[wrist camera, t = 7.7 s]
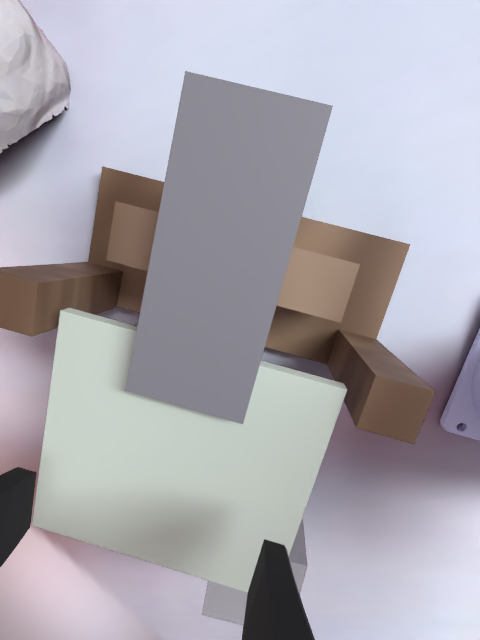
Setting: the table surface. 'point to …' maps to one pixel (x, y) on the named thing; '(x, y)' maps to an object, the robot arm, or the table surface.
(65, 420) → the trapdoor
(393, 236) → the table surface
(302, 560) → the granite cube
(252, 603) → the robot arm
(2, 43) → the stone
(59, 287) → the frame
